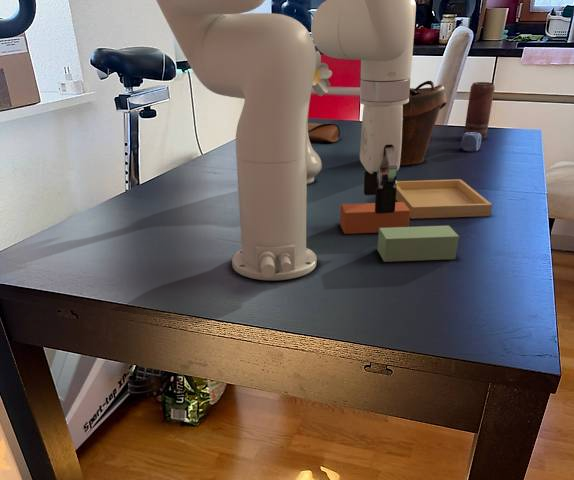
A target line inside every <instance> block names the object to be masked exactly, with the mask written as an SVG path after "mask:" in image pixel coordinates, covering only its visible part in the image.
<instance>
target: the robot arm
mask: <svg viewBox="0 0 574 480" xmlns="http://www.w3.org/2000/svg"><path fill="white" fill-rule="evenodd" d="M155 1H156V3H157V4H158V7H159V9H160V11H161V13H162V15H163V16H164V19H165V21H166V23H167V25H168V26H169V28H170V30H171V33H172V34H173V37H174V38H175V40H176V42H177V44H178V47H179V48H180V49H181V51H182V54H183V55H184V57H185V59H186V61H187V63H188V65H189V67H190V69H191V70H192V72H193V73H194V75H195V76H196V79H198V81H199V82H200V83H201V85H203V86H204V87H205V88H206V89H207V90H209V91H210V92H211V93H213V94H217V95H220V96H224V97H230V98H236V99H243V100H244V102H243V107H242V108H241V109H242V110H241V113H240V115H239V118H238V122H237V126H236V129H235V130H236V131H235V156H236V173H237V191H238V207H239V226H240V240H241V241H240V244H241V249H240V250H237V252H235V253H234V254H233V256H232V258H231V262H232V263H231V265H232V269H233V270H234V272H236V273H238V274H239V275H241V276H243V277H246V278H249V279H253V280H259V281H273V282H274V281H275V282H276V281H287V280H292V279H297V278H301V277H303V276H306V275H307V274H309V273H311V272H312V271H314V269H315V268H316V267H317V262H318V261H317V260H318V259H317V255H316V253H315V252H314V251H313V250H311V249H310V248H308V247H307V191H308V190H307V187H308V186H307V185H308V184H307V124H308V123H309V110H310V102H311V95H312V90H313V87H312V86H313V81H314V75H315V68H316V52H317V50H316V49H318V51H319V52H321V53H322V54H323V55H324V56H327V57H329V58H332V59H338V60H351V61H352V60H353V61H354V60H359V61H360V79H359V80H360V83H359V86H360V87H359V103H360V104H361V105H363V110H362V118H361V119H362V120H361V130H360V131H361V132H360V134H361V135H360V146H359V161H360V163H361V165H362V166H363V168H364V170H365V171H364V180H363V194H364V195H365V196H375V197H374V198H375V199H374V201H375V202H374V203H375V212H376V213H377V214H380V213H393V212H394V211H395V202H397V200H396V187H397V182H396V181H398V178H397V177H398V175H397V172H398V171H399V169H400V158H401V144H402V120H403V118H402V117H403V104H406V103H408V102H409V93H410V88H411V78H412V65H413V52H414V41H415V40H414V39H415V25H416V12H417V4H416V0H325V1H323V2H322V3H321V4H319V6H318V7H317V8H316V10H315V12H314V14H313V16H312V19H311V25H310V31H311V32H310V31H308V28H306V26H304V25H303V23H302V22H300V21H299V20H297V19H295V18H294V17H291V16H290V15H289V16H288V15H285V14H282V13H273V12H271V13H270V12H269V13H268V12H252V11H254V10H256V9H257V8H259V7H261V6H262V5H263V4H264V3H265V1H266V0H155Z"/></svg>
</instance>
